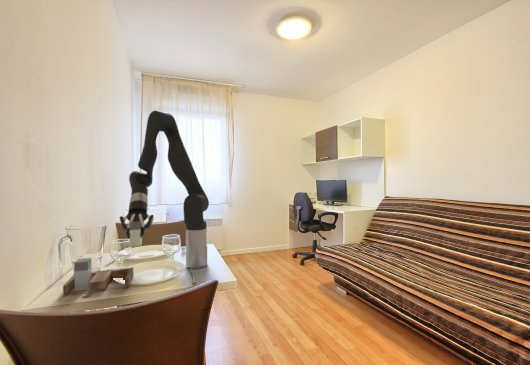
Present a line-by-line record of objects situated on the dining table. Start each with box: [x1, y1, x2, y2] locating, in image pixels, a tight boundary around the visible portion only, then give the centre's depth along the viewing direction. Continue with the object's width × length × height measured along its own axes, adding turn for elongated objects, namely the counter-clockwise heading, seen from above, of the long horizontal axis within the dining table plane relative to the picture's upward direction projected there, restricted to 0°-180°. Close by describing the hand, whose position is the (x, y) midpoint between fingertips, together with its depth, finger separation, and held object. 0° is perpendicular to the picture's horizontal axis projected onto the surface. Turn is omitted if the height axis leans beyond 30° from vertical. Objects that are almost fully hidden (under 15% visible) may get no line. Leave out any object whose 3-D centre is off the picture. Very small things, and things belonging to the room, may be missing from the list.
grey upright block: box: [129, 221, 143, 248], centre depth 107 cm, size 4×4×10 cm
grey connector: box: [73, 257, 92, 291], centre depth 91 cm, size 4×4×10 cm
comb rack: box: [62, 267, 134, 297], centre depth 93 cm, size 20×11×4 cm, turn 110°
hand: (135, 236), depth 106 cm, fingers closed on grey upright block, 4 cm apart
